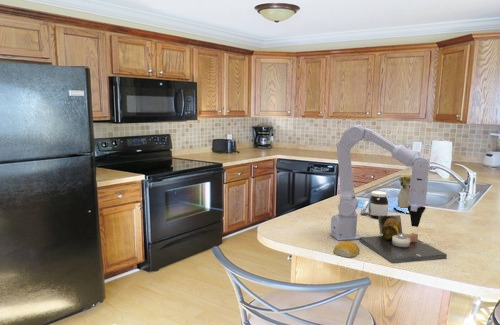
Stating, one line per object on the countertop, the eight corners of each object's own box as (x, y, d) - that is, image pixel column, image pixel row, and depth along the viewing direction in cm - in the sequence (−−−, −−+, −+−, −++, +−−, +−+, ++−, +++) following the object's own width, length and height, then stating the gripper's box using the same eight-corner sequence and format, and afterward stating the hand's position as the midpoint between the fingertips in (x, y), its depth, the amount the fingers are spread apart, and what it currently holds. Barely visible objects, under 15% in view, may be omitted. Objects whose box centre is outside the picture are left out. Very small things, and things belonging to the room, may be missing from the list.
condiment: (402, 233, 148) (399, 242, 137) (380, 233, 152) (375, 242, 141) (400, 215, 148) (397, 223, 137) (378, 215, 151) (373, 223, 141)
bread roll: (362, 252, 132) (363, 241, 132) (352, 260, 125) (353, 248, 125) (340, 246, 137) (340, 236, 137) (329, 253, 130) (330, 242, 130)
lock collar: (403, 248, 131) (403, 241, 131) (388, 243, 136) (389, 236, 135) (422, 242, 138) (423, 235, 137) (407, 237, 143) (408, 231, 142)
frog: (393, 212, 185) (396, 176, 182) (393, 206, 197) (396, 172, 194) (420, 215, 181) (423, 178, 178) (418, 209, 193) (421, 174, 190)
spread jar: (389, 219, 172) (391, 195, 170) (364, 219, 172) (366, 194, 171) (380, 212, 184) (382, 189, 182) (357, 212, 184) (359, 189, 182)
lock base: (392, 263, 123) (393, 246, 122) (359, 241, 143) (360, 226, 142) (446, 258, 128) (448, 242, 127) (407, 237, 148) (408, 224, 147)
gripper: (427, 195, 127) (424, 233, 129) (432, 187, 139) (429, 223, 141) (405, 192, 131) (402, 229, 132) (412, 185, 143) (409, 219, 145)
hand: (414, 226), depth 137 cm, fingers closed
